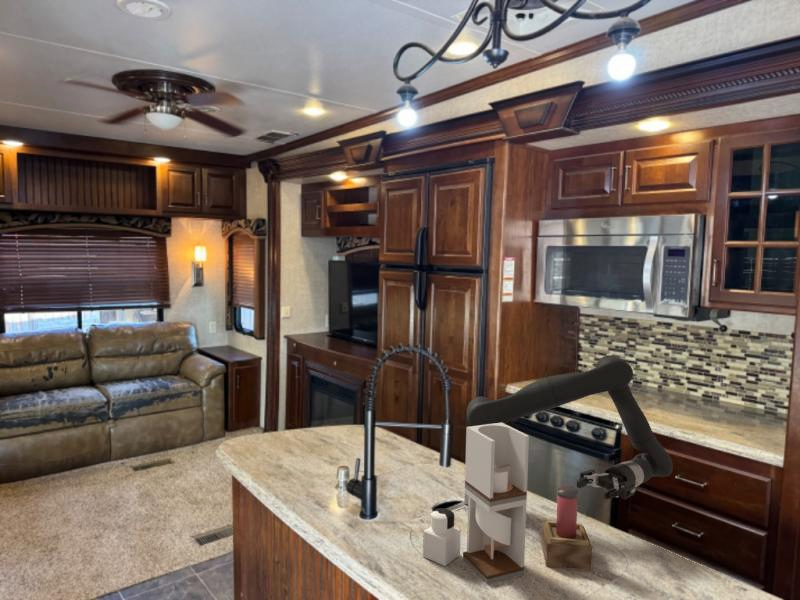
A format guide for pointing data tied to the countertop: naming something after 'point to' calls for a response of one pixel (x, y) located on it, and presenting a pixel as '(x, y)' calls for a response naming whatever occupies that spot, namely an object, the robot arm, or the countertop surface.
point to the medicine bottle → (442, 538)
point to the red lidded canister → (566, 512)
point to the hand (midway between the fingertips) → (591, 489)
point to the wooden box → (566, 548)
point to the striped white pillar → (496, 500)
